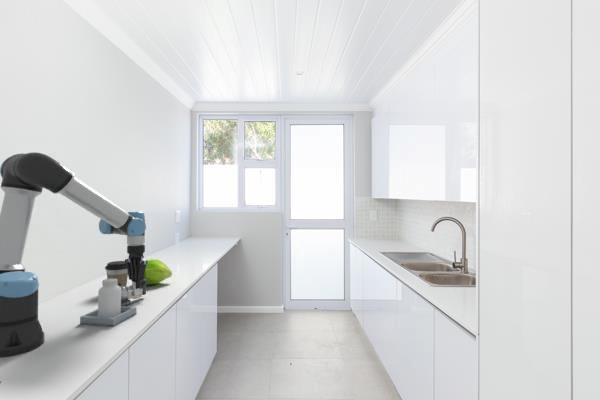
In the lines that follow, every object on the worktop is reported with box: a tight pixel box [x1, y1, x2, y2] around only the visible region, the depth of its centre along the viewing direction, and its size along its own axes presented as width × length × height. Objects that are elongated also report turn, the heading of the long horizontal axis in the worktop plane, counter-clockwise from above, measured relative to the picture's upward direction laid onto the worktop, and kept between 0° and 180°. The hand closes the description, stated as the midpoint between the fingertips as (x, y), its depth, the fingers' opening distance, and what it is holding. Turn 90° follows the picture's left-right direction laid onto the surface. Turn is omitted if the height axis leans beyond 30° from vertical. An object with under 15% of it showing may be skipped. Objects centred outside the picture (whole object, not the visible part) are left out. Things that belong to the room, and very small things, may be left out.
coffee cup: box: [104, 260, 129, 287], centre depth 174 cm, size 11×11×15 cm
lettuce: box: [144, 258, 173, 286], centre depth 190 cm, size 15×20×14 cm
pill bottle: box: [97, 278, 121, 318], centre depth 137 cm, size 8×8×15 cm
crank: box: [121, 279, 148, 303], centre depth 159 cm, size 15×6×8 cm, turn 154°
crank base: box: [121, 295, 142, 307], centre depth 159 cm, size 16×7×1 cm, turn 171°
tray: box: [79, 306, 137, 327], centre depth 137 cm, size 14×14×3 cm
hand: (136, 295), depth 160 cm, fingers closed
